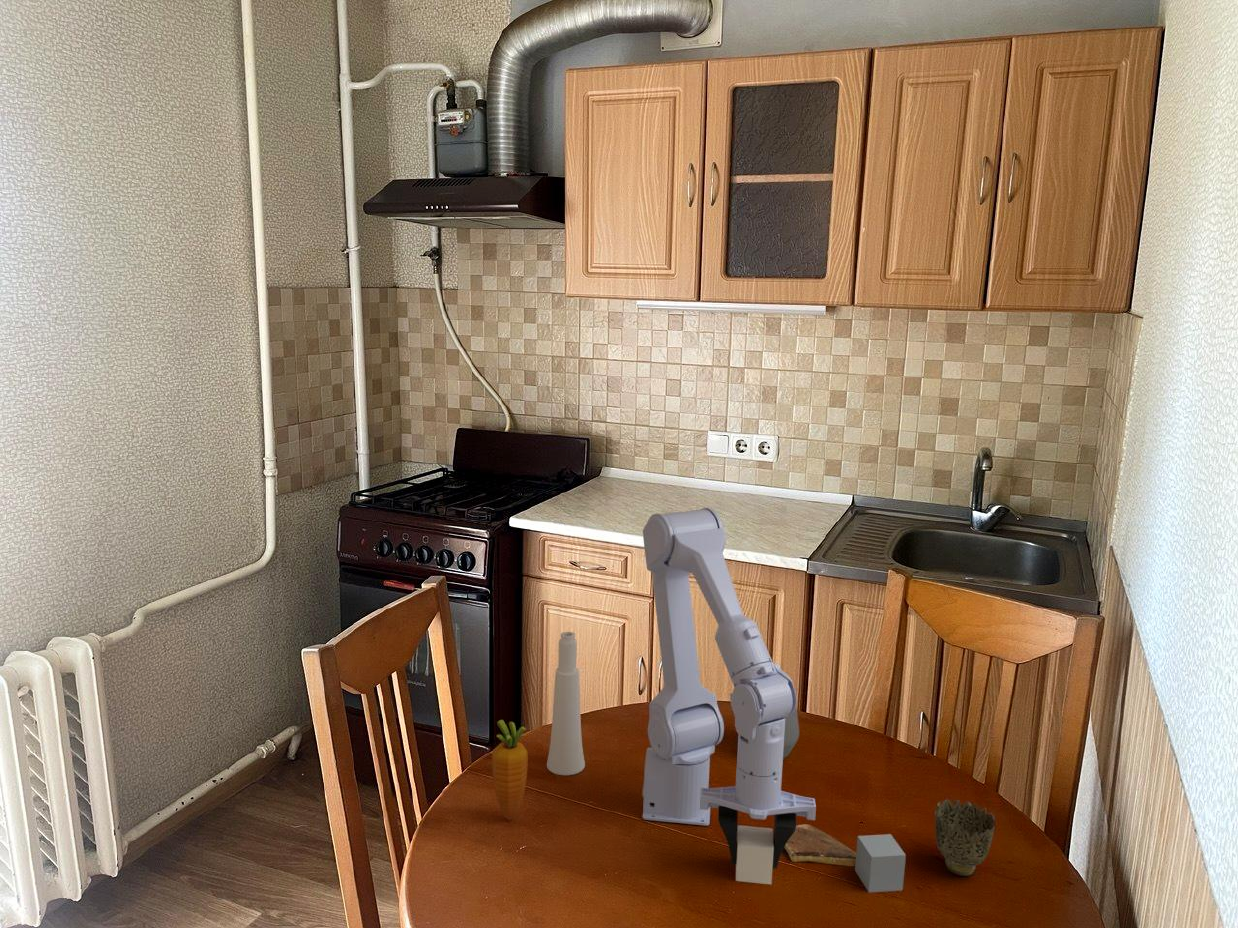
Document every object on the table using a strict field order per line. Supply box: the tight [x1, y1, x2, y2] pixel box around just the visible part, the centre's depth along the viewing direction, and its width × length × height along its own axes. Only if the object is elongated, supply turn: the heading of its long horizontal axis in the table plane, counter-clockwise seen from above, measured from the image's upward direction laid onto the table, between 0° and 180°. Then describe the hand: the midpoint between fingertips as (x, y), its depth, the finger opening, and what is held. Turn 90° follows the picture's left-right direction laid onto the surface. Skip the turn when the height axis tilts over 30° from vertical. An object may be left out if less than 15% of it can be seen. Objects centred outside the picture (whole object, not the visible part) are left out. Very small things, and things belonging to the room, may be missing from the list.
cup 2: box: [934, 798, 996, 877], centre depth 117 cm, size 8×7×8 cm
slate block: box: [854, 833, 907, 893], centre depth 115 cm, size 4×4×5 cm
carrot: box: [491, 719, 529, 822], centre depth 125 cm, size 5×5×15 cm
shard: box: [784, 823, 857, 867], centre depth 120 cm, size 11×8×2 cm
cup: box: [783, 705, 800, 760], centre depth 146 cm, size 10×9×10 cm
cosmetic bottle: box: [546, 631, 586, 776], centre depth 140 cm, size 6×6×22 cm
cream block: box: [735, 824, 774, 885], centre depth 116 cm, size 4×4×5 cm
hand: (753, 861), depth 116 cm, fingers closed on cream block, 4 cm apart
